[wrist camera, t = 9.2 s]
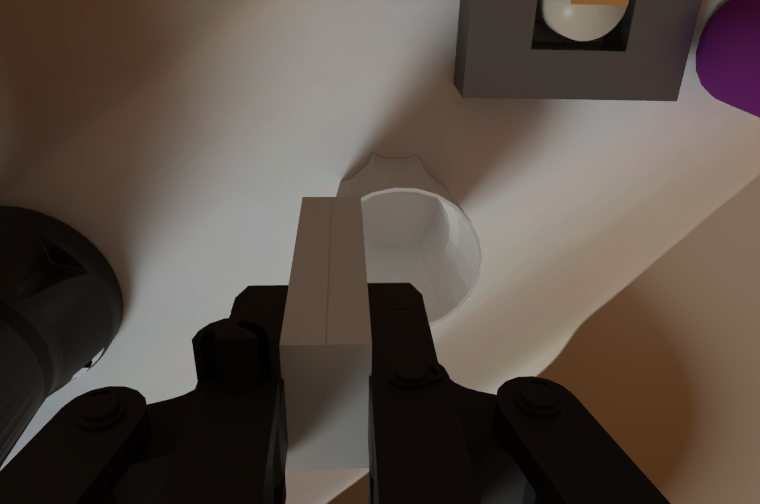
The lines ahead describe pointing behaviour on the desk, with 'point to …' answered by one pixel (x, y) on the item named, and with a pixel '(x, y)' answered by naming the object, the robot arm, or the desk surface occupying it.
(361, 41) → the desk surface
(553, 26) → the knob
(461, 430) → the robot arm
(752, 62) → the beverage can
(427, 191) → the cup
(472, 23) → the mount plate
